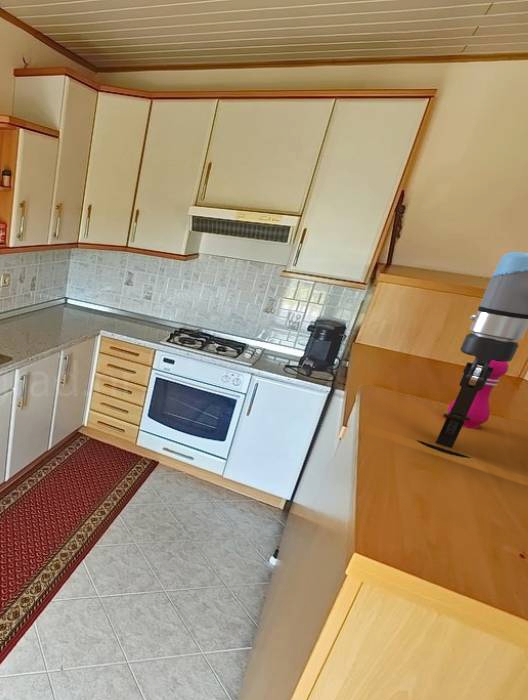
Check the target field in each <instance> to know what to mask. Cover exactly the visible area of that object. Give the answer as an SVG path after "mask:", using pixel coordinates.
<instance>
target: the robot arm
mask: <svg viewBox="0 0 528 700" xmlns="http://www.w3.org/2000/svg"><path fill="white" fill-rule="evenodd" d="M469 320H471V321H473V322H472V323H471V324H470V327H469V331H470V332H471V333H468V334H466V335H465V337H464V340H463V342H462V343H461V346H460V352H461V353H463V354H465V355H468V356H471V357H472V356H473V357H475V358H474V360H473V361H474V362H473V361H472V362H466V364H465V366H464V369H463V371H462V372H463V375H462V377H461V379H460V382H459V387H460V390H459V392H458V393H457V396H456V398H455V399H454V400H455V403H454V405H453V407H452V408H451V411H450V412H449V413H445V412H444V413H443V416H442V417H444V418H445V420H444V423H443V425H442V428H441V429H440V432H439V434H438V435H437V438H436V441H435V444H437V445H440V446H443V447H446V448H449V449H453V448H454V445H455V443H456V441H457V438H458V436H459V435H460V433H461V430H462V428H463V427H464V426H463V424H464V421H465V420H468V421H469V420H470V418H471V417H467V414H468V412H469V409H470V407H471V405H472V403H473V401H474V399H475V396H476V394H477V392H478V391H481V390H482V389H483V387H484V385H485V382H486V380H487V379H488V378H490V376H491V374H492V372H493V369H494V368H491V367H489V364H490V362H491V360H495V361H500V362H507V363H508V362H511V361H512V360H513V359H514V356H515V355H516V352H517V350H518V349H519V346H520V345H519V342H517V341H521V340H523V339H524V336H525V335H526V333H527V330H528V252H520V251H519V252H518V251H510V252H507V253H505V254H503V255H502V257H501V258H500V260H499V261H498V264H497V267H496V269H495V270H494V272H493V274H491V277H490V280H489V282H488V285H487V286H486V289H485V292H484V295H483V296H482V299H481V301H480V303H479V306H478V308H477V311H476V314H471V315H470V316H469ZM484 375H485V376H484ZM483 377H484V378H483ZM437 445H435V446H436V447H439V448H442V449H445V450H448V451H450V450H449V449H446V448H443V447H440V446H437Z"/></svg>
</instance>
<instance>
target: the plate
mask: <svg viewBox="0 0 528 700" xmlns="http://www.w3.org/2000/svg"><path fill="white" fill-rule="evenodd" d="M416 442H418V443H420V444H422V445H424V446H426V447H428V448H430V449H432V450H434V451H438V452H440V453H444V454H447V455H450V456H451V455H452V456H456V457H461V458H468V459H469V458H470V459H472V457H471V456H468V455H465V454H463V453H458V452H455V451H452V450H449V449H446V448H443V447H440V446H437V445H433V444H431V443H427V442H424V441H421V440H419V439H416ZM436 446H437V447H436ZM439 447H440V448H439ZM442 448H443V449H442ZM445 449H446V450H445ZM448 450H449V451H448Z"/></svg>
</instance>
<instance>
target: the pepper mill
mask: <svg viewBox="0 0 528 700" xmlns="http://www.w3.org/2000/svg"><path fill="white" fill-rule="evenodd" d="M473 362H474V360H473V361H472V363H473ZM489 367H491V368H494V369H493V372H492V374H491V376H490V378H488V379H487V380H486V382H485V385H484V387H483V389H482V390H481V391H478V392H477V394H476V396H475V399H474V401H473V403H472V405H471V407H470V409H469V412H468V414H467V417H471V418H470V420H469V421H468V420H465V421H464V424H463V426H462V427H464V428H469V429H480V425H482V424H485V423H486V422H488V421H489V418H490V416H491V410H490V409H491V408H490V394H491V393H492V390H493V389H494V387H496V386H498V385H499V384H498V383H499V382H500V379H499V378H501V377H503V376H505V375H506V374H507V372H508V370H509V363H508V362H500V361H495V360H491V362H490V364H489ZM484 376H485V375H484ZM483 378H484V377H483ZM455 400H456V399H454V400H453V401H452V402H451V403H450V404H449V405H448V408H447V414H449V412H450V411H451V408H452V407H453V405H454V403H455Z"/></svg>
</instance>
